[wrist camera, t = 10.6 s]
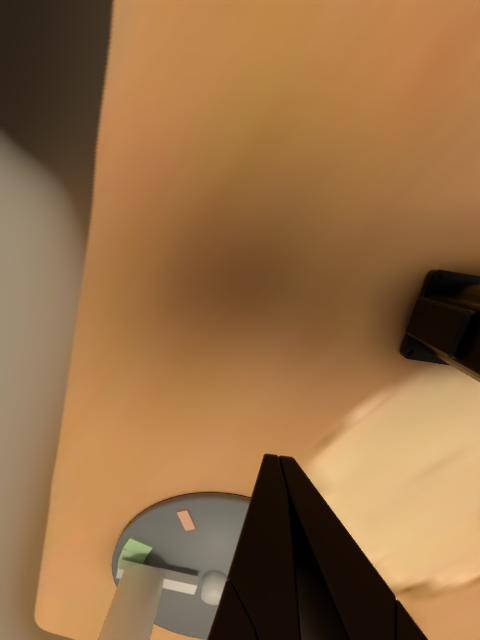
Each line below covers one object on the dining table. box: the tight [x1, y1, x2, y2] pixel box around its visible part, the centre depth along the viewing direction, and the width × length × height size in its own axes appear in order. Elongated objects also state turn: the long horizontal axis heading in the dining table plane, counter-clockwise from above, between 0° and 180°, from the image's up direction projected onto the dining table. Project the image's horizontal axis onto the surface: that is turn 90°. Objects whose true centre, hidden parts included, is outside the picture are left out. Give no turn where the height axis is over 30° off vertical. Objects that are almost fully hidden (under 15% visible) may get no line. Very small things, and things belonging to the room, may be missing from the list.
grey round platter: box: [112, 492, 251, 639], centre depth 25 cm, size 21×21×2 cm
